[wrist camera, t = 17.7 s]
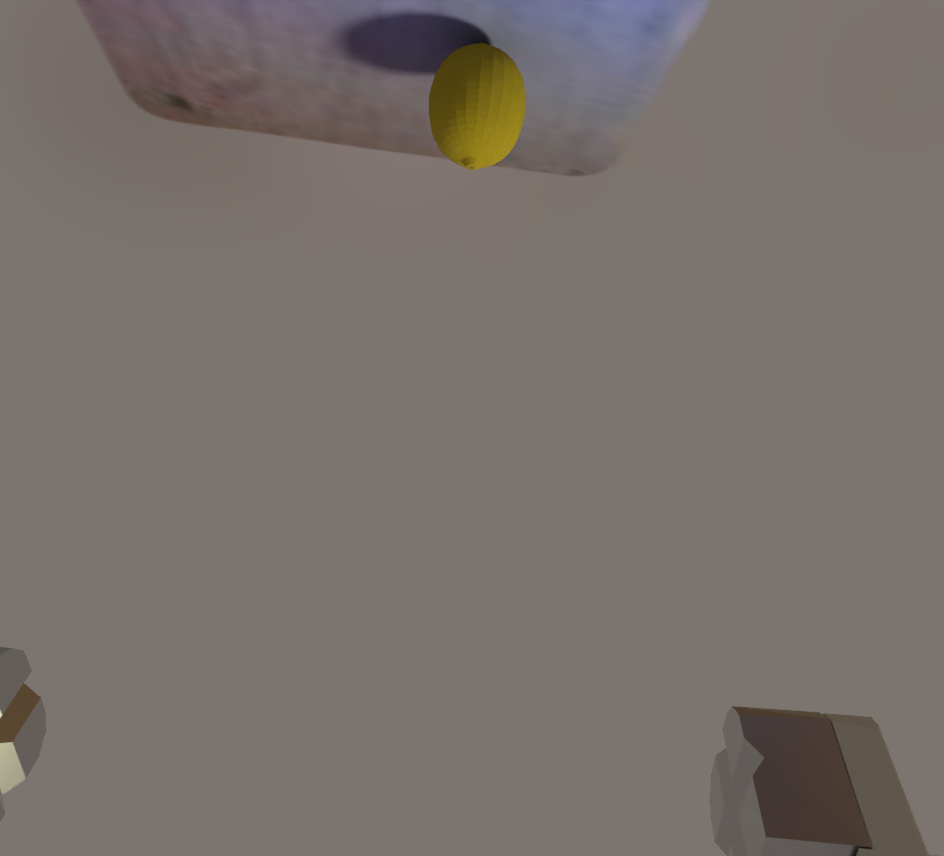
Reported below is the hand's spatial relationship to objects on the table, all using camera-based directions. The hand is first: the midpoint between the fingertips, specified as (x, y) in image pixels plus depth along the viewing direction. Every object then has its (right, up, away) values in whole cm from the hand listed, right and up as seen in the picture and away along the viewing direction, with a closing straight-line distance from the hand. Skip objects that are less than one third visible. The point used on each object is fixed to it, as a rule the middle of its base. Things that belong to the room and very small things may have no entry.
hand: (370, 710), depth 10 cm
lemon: (+2, +26, +41) cm, 49 cm away
